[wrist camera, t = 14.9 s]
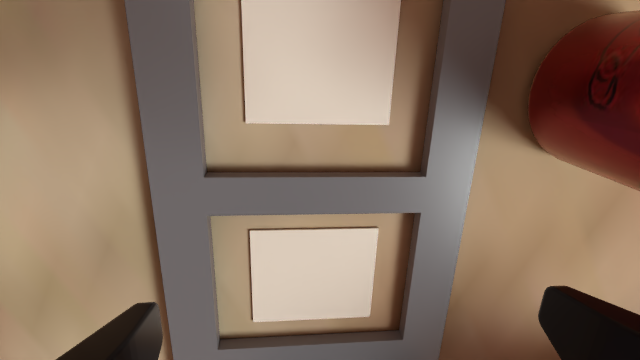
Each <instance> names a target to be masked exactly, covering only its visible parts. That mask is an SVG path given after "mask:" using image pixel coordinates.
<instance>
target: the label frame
mask: <svg viewBox="0 0 640 360" xmlns="http://www.w3.org/2000/svg"><path fill="white" fill-rule="evenodd" d="M124 1H125V8H126V16H127V23H128V30H129V38H130V45H131V52H132V60H133V67H134V74H135V82H136V89H137V96H138V104H139V111H140V118H141V126H142V133H143V140H144V148H145V155H146V162H147V170H148V177H149V184H150V192H151V199H152V206H153V214H154V221H155V228H156V236H157V243H158V250H159V257H160V265H161V272H162V279H163V287H164V294H165V301H166V309H167V316H168V323H169V331H170V338H171V345H172V353H173V360H438V359H439V354H440V348H441V343H442V338H443V332H444V327H445V322H446V316H447V311H448V306H449V300H450V295H451V290H452V284H453V279H454V274H455V268H456V263H457V258H458V252H459V247H460V242H461V236H462V231H463V226H464V220H465V215H466V210H467V204H468V199H469V194H470V188H471V183H472V178H473V172H474V167H475V162H476V156H477V151H478V146H479V140H480V135H481V130H482V124H483V119H484V114H485V108H486V103H487V98H488V92H489V87H490V82H491V77H492V71H493V66H494V61H495V55H496V50H497V45H498V39H499V34H500V29H501V23H502V18H503V13H504V7H505V2H506V0H443V8H442V15H441V23H440V30H439V37H438V45H437V52H436V60H435V67H434V75H433V82H432V89H431V97H430V104H429V112H428V119H427V127H426V134H425V141H424V149H423V156H422V164H421V171H420V172H207V168H206V155H205V142H204V129H203V116H202V103H201V90H200V78H199V65H198V52H197V39H196V26H195V13H194V0H124ZM400 6H401V0H241V8H242V35H243V62H244V89H245V116H246V123H272V124H350V125H389V118H390V108H391V98H392V88H393V77H394V67H395V57H396V47H397V37H398V27H399V17H400ZM367 213H415V216H414V223H413V231H412V238H411V245H410V253H409V260H408V268H407V275H406V283H405V290H404V297H403V305H402V312H401V320H400V327H399V330H395V331H376V332H356V333H337V334H317V335H298V336H278V337H259V338H239V339H220V335H219V322H218V309H217V296H216V283H215V270H214V258H213V245H212V232H211V219H210V216H230V215H298V214H367ZM378 230H379V228H331V229H279V230H250V250H251V277H252V304H253V322H267V321H289V320H310V319H332V318H353V317H370V311H371V300H372V290H373V280H374V270H375V260H376V250H377V240H378Z"/></svg>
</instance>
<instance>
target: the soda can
mask: <svg viewBox="0 0 640 360" xmlns="http://www.w3.org/2000/svg"><path fill="white" fill-rule="evenodd" d="M528 117H529V123H530V126H531V130H532V133H533V135H534V136H535V138H536V140H537V142H538V143H539V145H540V146H541V147H542V148H543V149H544V150H545V151H546V152H547V153H549V154H551V155H552V156H554V157H555V158H557V159H559V160H562V161H564V162H567V163H569V164H572V165H574V166H577V167H580V168H582V169H585V170H587V171H590V172H592V173H595V174H597V175H600V176H603V177H605V178H608V179H610V180H613V181H615V182H618V183H620V184H623V185H625V186H628V187H631V188H633V189H636V190H638V191H640V11H631V12H622V13H613V14H606V15H603V16H599V17H596V18H593V19H590V20H588V21H586V22H584V23H582V24H581V25H579V26H577V27H575V28H574V29H573V30H571V31H570V32H569V33H567V34H566V35H565V36H563V37H562V38H561V39H560V40H559V41H558V42H557V43H556V44H555V45H554V47H553V48H552V49H551V50H550V51H549V52H548V54H547V55H546V57H545V58H544V60H543V61H542V63H541V64H540V66H539V68H538V70H537V73H536V75H535V77H534V79H533V83H532V86H531V89H530V93H529V101H528Z"/></svg>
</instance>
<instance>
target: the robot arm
mask: <svg viewBox="0 0 640 360" xmlns="http://www.w3.org/2000/svg"><path fill="white" fill-rule="evenodd" d="M538 318H539V322H540V325H541V327H542V328H543V330H544V332H545V333H546V335H547V337H548V338H549V340H550V342H551V343H552V345H553V347H554V348H555V350H556V351H557V353H558V355H559V356H560V358H561V360H640V315H638V314H636V313H633V312H631V311H628V310H626V309H623V308H621V307H618V306H616V305H613V304H610V303H608V302H605V301H603V300H600V299H598V298H595V297H593V296H590V295H588V294H585V293H583V292H580V291H578V290H575V289H573V288H570V287H568V286H550V287H547V288H546V290H545V292H544V295H543V299H542V302H541V306H540V310H539V314H538ZM162 339H163V333H162V325H161V318H160V310H159V306H158V304H157V303H155V302H148V303H137V304H135V305H133V306H132V307H130V308H129V309H127V310H126V311H125V312H123V313H122V314H120V315H119V316H117V317H116V318H115V319H113V320H112V321H110V322H109V323H107V324H106V325H105V326H103V327H102V328H100V329H99V330H97V331H96V332H95V333H93V334H92V335H90V336H89V337H87V338H86V339H85V340H83V341H82V342H80V343H79V344H77V345H76V346H75V347H73V348H72V349H70V350H69V351H67V352H66V353H65V354H63V355H62V356H60V357H59V358H57V359H56V360H158V357H159V353H160V350H161V346H162Z"/></svg>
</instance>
